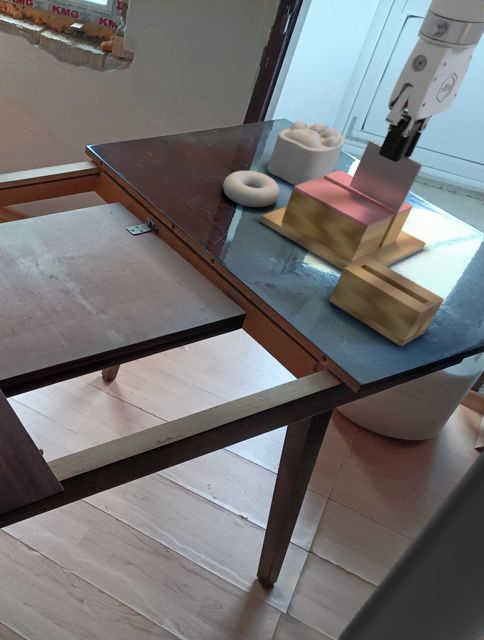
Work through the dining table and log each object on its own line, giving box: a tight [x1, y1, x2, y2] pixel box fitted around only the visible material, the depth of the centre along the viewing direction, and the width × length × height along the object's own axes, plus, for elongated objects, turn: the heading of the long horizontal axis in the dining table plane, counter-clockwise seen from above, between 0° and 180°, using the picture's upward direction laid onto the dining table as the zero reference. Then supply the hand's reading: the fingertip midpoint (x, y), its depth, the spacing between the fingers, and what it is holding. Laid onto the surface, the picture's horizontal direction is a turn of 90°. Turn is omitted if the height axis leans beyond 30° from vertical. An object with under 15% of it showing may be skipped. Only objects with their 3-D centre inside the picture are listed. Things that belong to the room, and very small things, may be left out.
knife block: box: [328, 257, 445, 347], centre depth 98 cm, size 12×6×6 cm, turn 34°
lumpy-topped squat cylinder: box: [266, 120, 345, 186], centre depth 132 cm, size 10×13×9 cm
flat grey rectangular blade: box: [349, 117, 423, 212], centre depth 105 cm, size 9×2×13 cm, turn 34°
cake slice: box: [324, 169, 414, 248], centre depth 115 cm, size 14×4×7 cm, turn 34°
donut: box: [222, 170, 281, 208], centre depth 124 cm, size 10×4×10 cm
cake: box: [259, 177, 427, 271], centre depth 114 cm, size 20×18×8 cm
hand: (394, 155), depth 105 cm, fingers closed on flat grey rectangular blade, 2 cm apart
